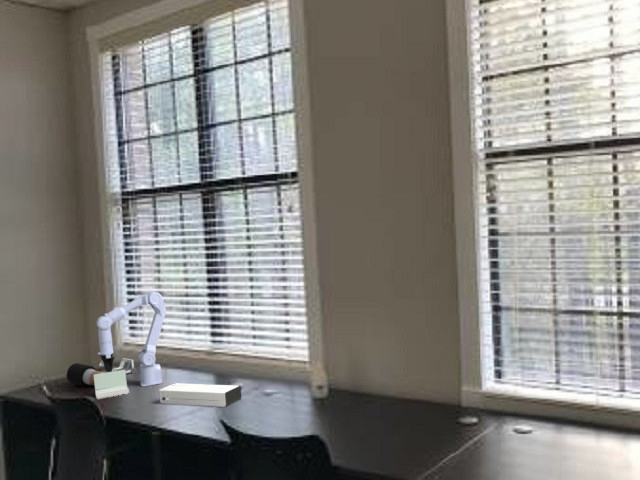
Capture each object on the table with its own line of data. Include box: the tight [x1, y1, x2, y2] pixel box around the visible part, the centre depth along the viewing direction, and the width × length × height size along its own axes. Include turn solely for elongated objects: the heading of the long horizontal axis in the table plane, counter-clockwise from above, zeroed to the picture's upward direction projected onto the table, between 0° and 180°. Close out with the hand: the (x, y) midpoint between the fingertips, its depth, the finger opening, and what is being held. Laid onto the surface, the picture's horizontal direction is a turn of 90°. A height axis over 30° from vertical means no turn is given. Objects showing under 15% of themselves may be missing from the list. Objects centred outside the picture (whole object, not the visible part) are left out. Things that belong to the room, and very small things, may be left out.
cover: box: [94, 370, 128, 392], centre depth 322 cm, size 14×8×1 cm
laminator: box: [158, 382, 242, 408], centre depth 293 cm, size 34×12×6 cm, turn 64°
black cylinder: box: [66, 362, 104, 388], centre depth 337 cm, size 10×34×10 cm, turn 56°
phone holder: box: [98, 357, 137, 374], centre depth 361 cm, size 18×10×12 cm
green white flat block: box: [94, 384, 130, 400], centre depth 318 cm, size 14×7×2 cm, turn 112°
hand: (108, 371), depth 326 cm, fingers open, 5 cm apart
